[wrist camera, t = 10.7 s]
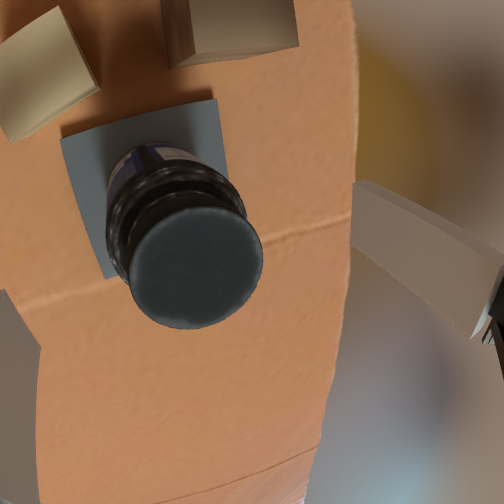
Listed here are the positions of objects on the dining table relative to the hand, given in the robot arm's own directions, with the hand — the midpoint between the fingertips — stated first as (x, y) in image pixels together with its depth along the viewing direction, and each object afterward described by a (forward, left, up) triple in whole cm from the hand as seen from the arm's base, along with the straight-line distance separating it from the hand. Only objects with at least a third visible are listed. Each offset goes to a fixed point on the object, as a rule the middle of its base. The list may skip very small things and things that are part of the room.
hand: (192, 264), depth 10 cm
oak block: (-9, -5, -12) cm, 15 cm away
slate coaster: (0, 0, -12) cm, 12 cm away
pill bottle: (0, 0, -11) cm, 11 cm away
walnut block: (-10, +5, -12) cm, 16 cm away
